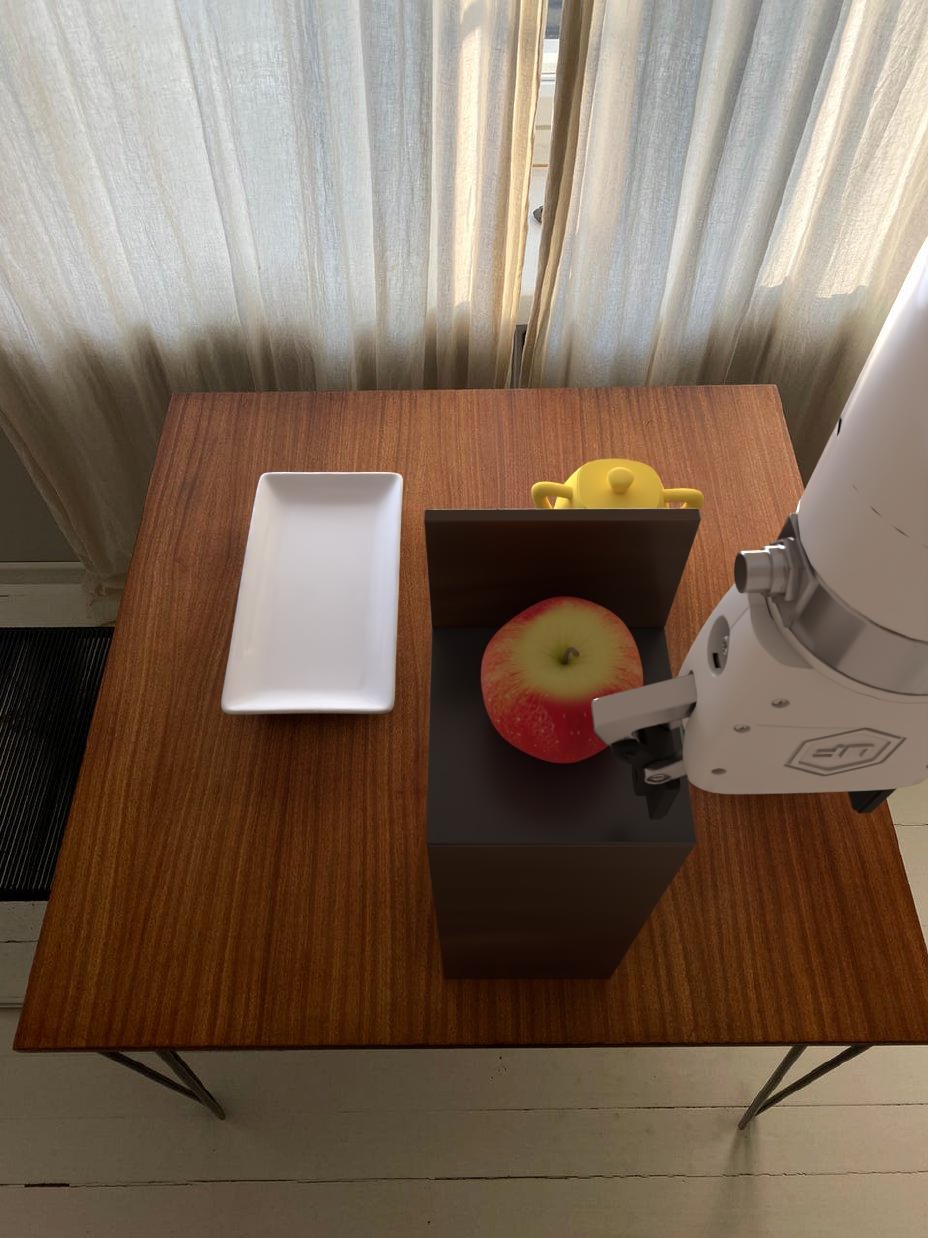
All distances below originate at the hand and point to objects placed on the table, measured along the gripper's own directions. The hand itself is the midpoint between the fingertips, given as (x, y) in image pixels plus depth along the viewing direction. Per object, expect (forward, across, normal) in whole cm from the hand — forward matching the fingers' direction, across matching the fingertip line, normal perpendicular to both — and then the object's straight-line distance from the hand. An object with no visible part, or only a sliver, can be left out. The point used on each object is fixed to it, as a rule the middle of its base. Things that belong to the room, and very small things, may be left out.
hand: (752, 786), depth 42 cm
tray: (+39, -28, +39) cm, 62 cm away
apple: (+5, -9, +6) cm, 12 cm away
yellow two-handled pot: (+39, +3, +43) cm, 58 cm away
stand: (+39, -8, +6) cm, 40 cm away
